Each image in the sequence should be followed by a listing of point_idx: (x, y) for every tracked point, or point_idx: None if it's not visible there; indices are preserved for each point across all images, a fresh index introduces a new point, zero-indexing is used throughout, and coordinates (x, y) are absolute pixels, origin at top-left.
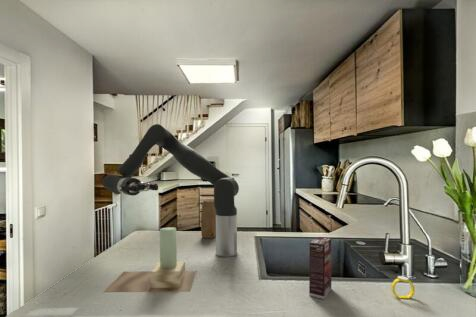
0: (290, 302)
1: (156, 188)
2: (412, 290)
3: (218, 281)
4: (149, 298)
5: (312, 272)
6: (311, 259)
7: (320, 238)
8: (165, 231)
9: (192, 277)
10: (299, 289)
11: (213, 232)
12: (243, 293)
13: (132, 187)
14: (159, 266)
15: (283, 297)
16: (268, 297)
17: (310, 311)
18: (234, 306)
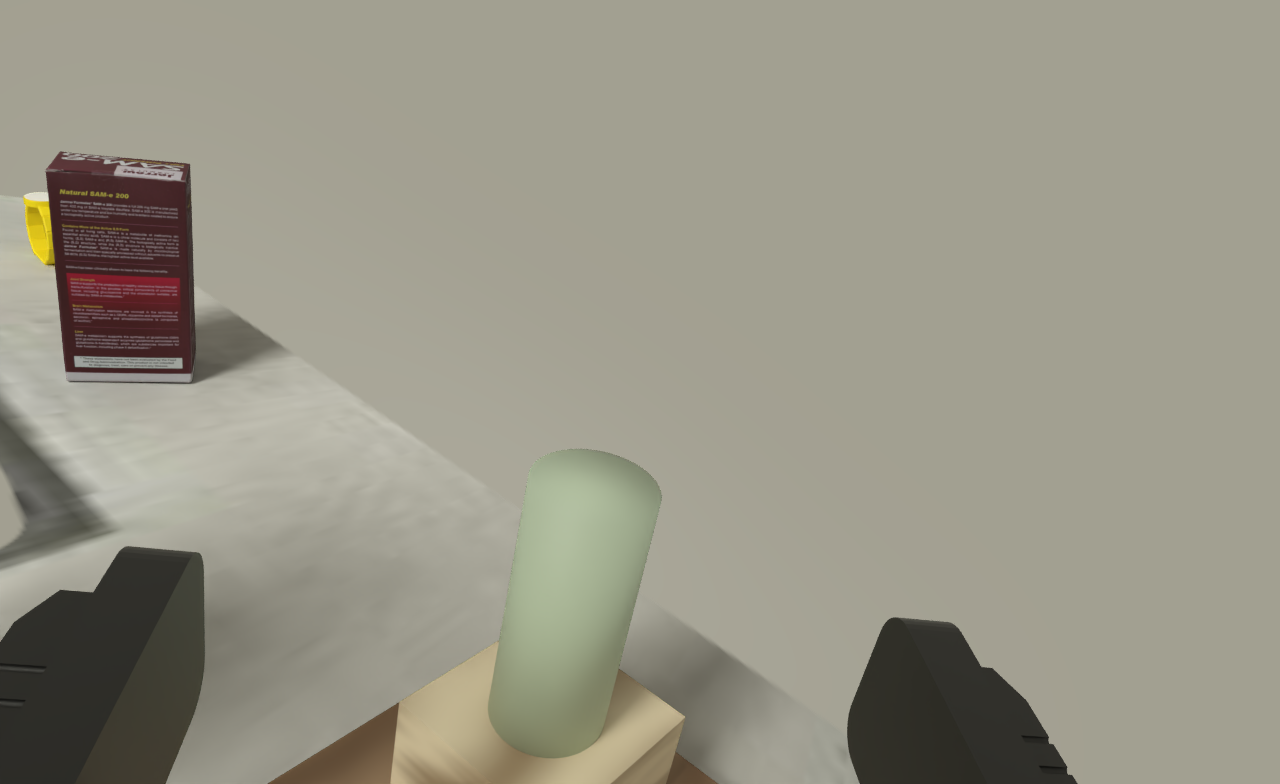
0: (285, 407)
1: (200, 631)
2: (35, 225)
3: (273, 648)
4: (692, 752)
5: (191, 291)
6: (189, 245)
7: (83, 164)
8: (639, 471)
9: (373, 732)
10: (146, 410)
11: None
12: (325, 516)
13: (1036, 726)
14: (599, 746)
15: (260, 426)
16: (295, 453)
17: (308, 369)
18: (446, 496)
